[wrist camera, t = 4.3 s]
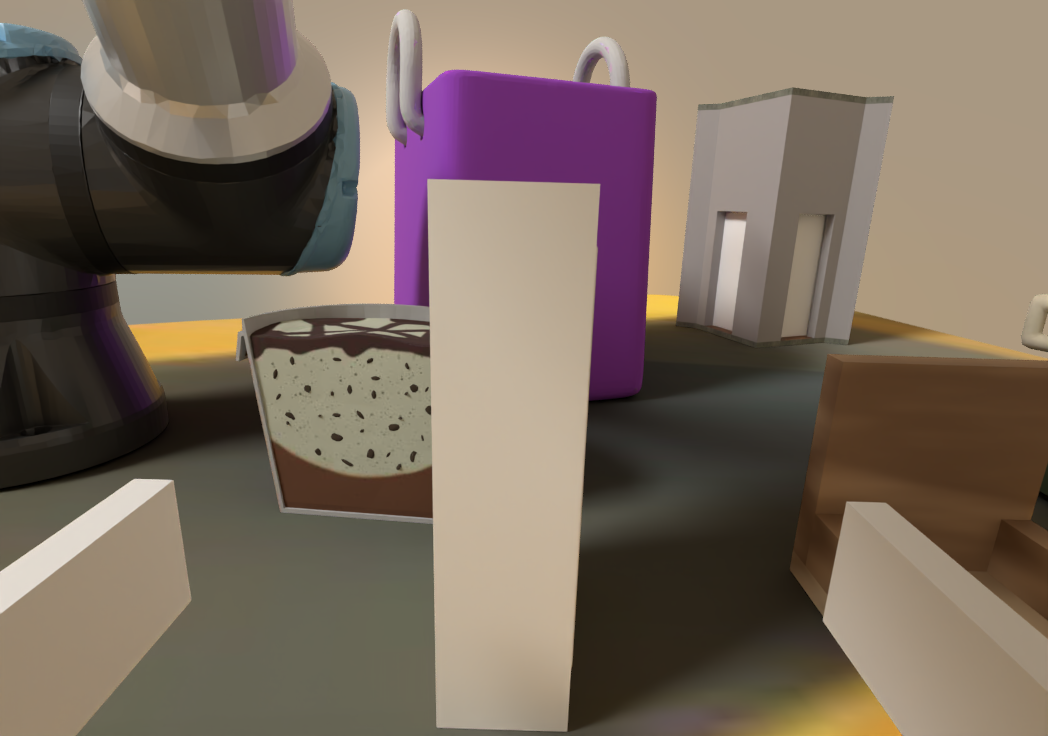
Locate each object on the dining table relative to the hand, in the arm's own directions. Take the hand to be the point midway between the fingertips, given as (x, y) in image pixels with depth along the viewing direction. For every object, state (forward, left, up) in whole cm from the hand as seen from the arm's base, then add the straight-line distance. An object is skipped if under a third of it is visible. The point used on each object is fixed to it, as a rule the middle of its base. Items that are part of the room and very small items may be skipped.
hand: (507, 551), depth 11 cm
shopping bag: (-45, -2, -9) cm, 46 cm away
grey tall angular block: (-61, +29, -9) cm, 68 cm away
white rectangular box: (-8, 0, -9) cm, 12 cm away
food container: (-19, -7, -9) cm, 22 cm away
